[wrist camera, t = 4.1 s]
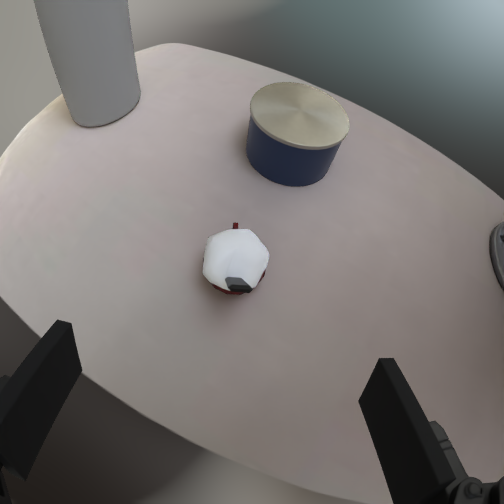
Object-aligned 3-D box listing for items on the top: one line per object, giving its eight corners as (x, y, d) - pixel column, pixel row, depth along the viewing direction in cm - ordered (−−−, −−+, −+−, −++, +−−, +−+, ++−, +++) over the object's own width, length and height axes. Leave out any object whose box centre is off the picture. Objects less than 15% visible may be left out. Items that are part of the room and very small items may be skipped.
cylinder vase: (60, 127, 40) (13, 2, 17) (94, 83, 45) (69, -31, 22) (121, 131, 40) (88, -21, 18) (152, 84, 46) (140, -45, 23)
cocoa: (224, 231, 35) (227, 163, 24) (274, 252, 35) (299, 192, 24) (185, 304, 32) (168, 261, 21) (240, 329, 31) (253, 299, 20)
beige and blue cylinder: (312, 120, 45) (325, 82, 38) (344, 181, 40) (366, 143, 33) (235, 127, 42) (239, 84, 35) (258, 194, 38) (267, 151, 31)
